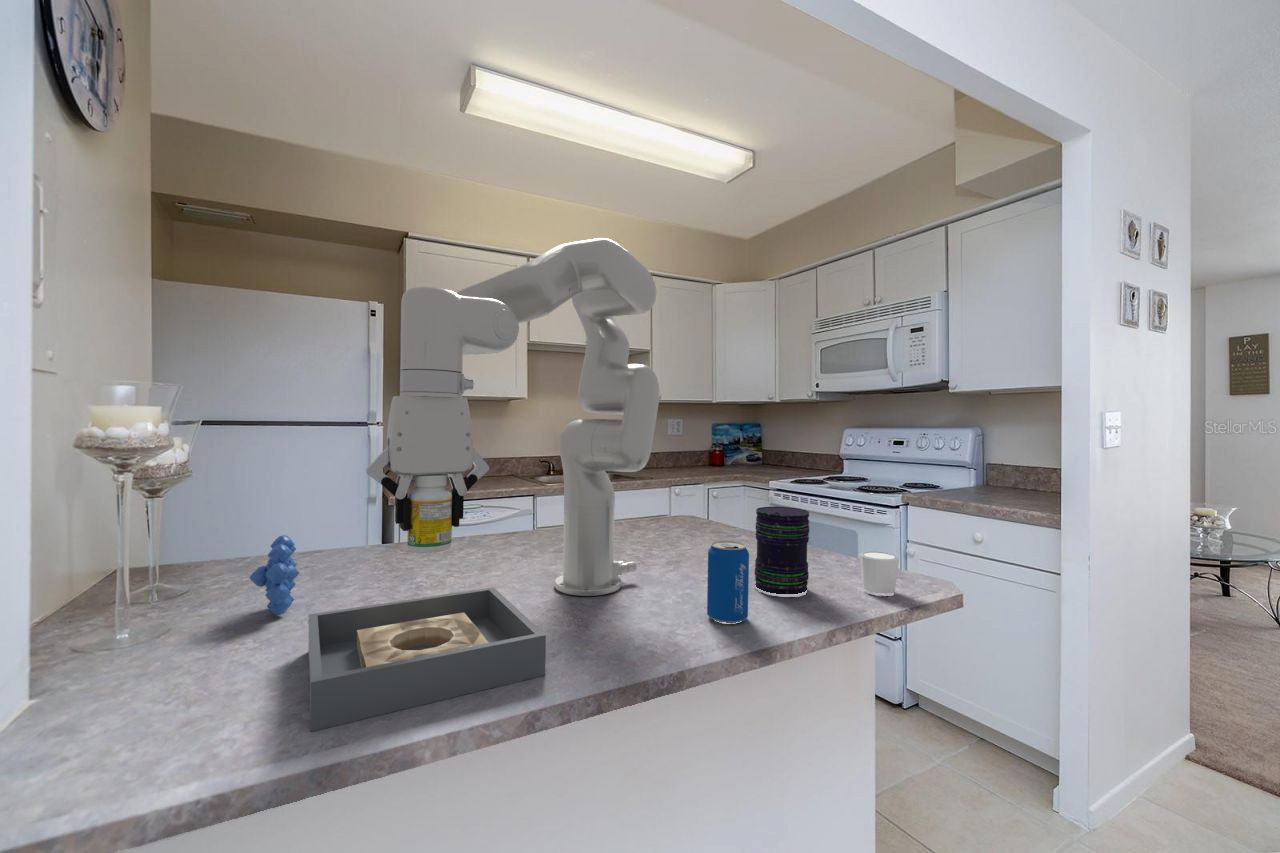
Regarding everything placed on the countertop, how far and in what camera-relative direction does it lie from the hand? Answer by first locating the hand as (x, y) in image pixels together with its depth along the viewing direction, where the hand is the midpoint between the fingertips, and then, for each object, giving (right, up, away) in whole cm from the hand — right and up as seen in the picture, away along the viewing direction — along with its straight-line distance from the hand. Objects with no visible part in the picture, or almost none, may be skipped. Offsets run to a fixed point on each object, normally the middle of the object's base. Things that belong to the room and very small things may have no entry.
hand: (429, 525), depth 72 cm
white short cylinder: (+72, -18, +32) cm, 81 cm away
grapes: (-32, -17, +18) cm, 40 cm away
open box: (-1, -18, 0) cm, 18 cm away
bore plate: (-1, -17, 0) cm, 17 cm away
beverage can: (+41, -18, +17) cm, 48 cm away
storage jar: (+54, -18, +33) cm, 66 cm away
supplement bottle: (0, -3, 0) cm, 3 cm away
